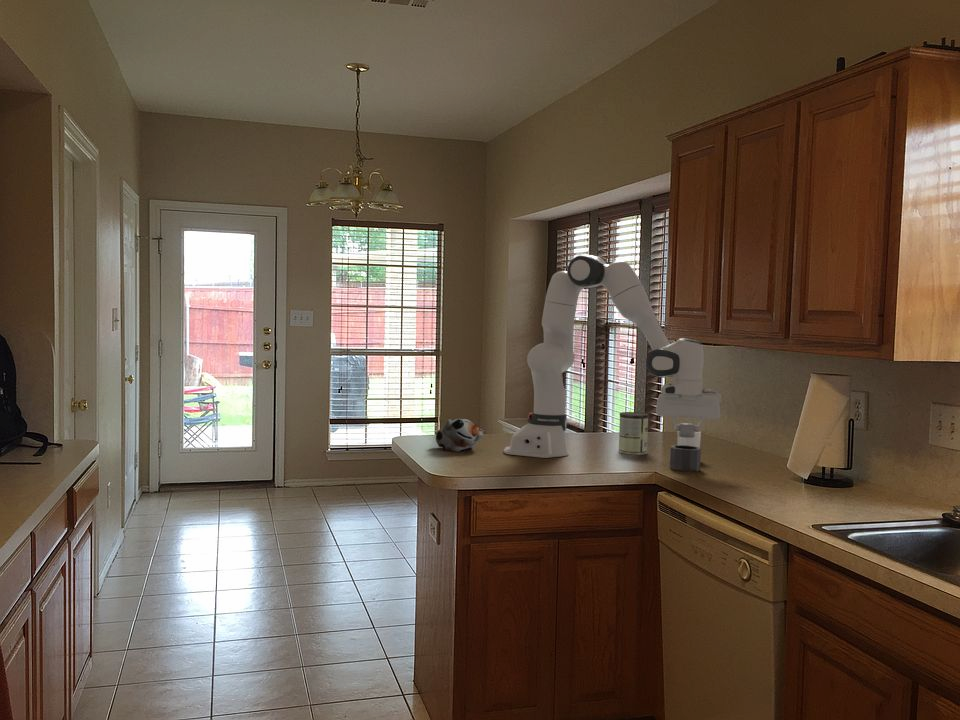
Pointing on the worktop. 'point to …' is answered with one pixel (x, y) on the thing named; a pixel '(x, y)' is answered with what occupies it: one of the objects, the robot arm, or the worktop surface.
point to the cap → (686, 430)
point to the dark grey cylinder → (685, 457)
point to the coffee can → (633, 433)
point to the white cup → (690, 440)
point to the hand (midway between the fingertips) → (686, 431)
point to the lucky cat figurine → (458, 435)
